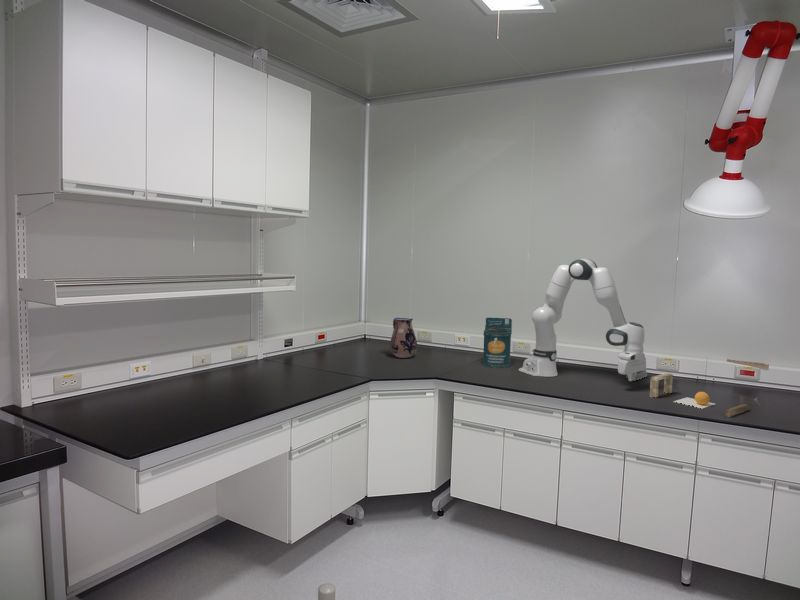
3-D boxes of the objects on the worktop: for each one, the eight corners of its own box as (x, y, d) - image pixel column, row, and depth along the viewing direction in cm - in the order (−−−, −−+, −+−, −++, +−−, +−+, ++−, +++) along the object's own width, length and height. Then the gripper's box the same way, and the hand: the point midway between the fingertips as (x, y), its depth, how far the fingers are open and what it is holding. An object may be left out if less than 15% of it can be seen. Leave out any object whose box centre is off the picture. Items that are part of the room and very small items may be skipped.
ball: (694, 406, 244) (690, 393, 245) (700, 404, 247) (696, 391, 248) (707, 405, 239) (703, 391, 240) (713, 402, 242) (709, 389, 244)
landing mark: (673, 401, 248) (673, 401, 248) (687, 397, 255) (687, 397, 255) (701, 408, 237) (701, 408, 237) (715, 404, 245) (715, 403, 245)
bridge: (649, 396, 256) (650, 377, 255) (665, 392, 265) (667, 373, 264) (655, 398, 254) (656, 378, 253) (671, 393, 262) (673, 374, 261)
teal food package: (510, 363, 328) (512, 318, 326) (509, 368, 313) (510, 321, 310) (484, 361, 332) (485, 317, 330) (481, 366, 317) (483, 320, 314)
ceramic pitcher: (402, 360, 330) (402, 321, 328) (381, 355, 346) (381, 317, 344) (422, 357, 342) (423, 319, 339) (401, 352, 358) (401, 315, 355)
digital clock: (634, 382, 285) (635, 362, 284) (619, 378, 292) (620, 359, 291) (652, 378, 293) (653, 359, 292) (637, 375, 301) (639, 356, 300)
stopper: (724, 416, 227) (724, 410, 227) (742, 409, 238) (743, 403, 237) (729, 417, 226) (729, 411, 225) (747, 410, 236) (748, 404, 236)
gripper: (638, 351, 279) (636, 376, 280) (616, 355, 267) (614, 381, 268) (650, 353, 273) (648, 379, 275) (627, 357, 262) (625, 384, 263)
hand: (631, 380), depth 272 cm, fingers closed
